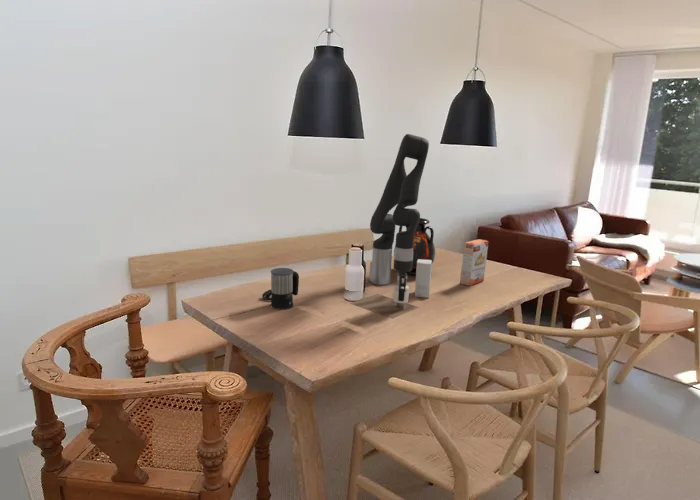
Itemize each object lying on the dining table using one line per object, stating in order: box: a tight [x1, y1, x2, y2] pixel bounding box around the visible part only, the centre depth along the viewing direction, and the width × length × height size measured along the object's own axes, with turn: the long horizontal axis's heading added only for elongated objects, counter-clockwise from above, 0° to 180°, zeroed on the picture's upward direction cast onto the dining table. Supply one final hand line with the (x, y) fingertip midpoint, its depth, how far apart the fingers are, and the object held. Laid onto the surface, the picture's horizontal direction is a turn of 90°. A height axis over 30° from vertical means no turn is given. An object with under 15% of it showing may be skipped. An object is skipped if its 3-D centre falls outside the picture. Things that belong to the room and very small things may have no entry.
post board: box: [349, 293, 420, 319], centre depth 193 cm, size 22×18×8 cm
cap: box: [392, 283, 410, 303], centre depth 192 cm, size 6×6×6 cm
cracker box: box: [459, 238, 489, 287], centre depth 233 cm, size 14×6×21 cm, turn 136°
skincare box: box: [414, 259, 433, 299], centre depth 212 cm, size 8×7×16 cm
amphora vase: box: [393, 217, 436, 277], centre depth 246 cm, size 22×22×28 cm
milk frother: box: [261, 267, 300, 310], centre depth 195 cm, size 14×16×15 cm
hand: (400, 297), depth 193 cm, fingers closed on cap, 6 cm apart
